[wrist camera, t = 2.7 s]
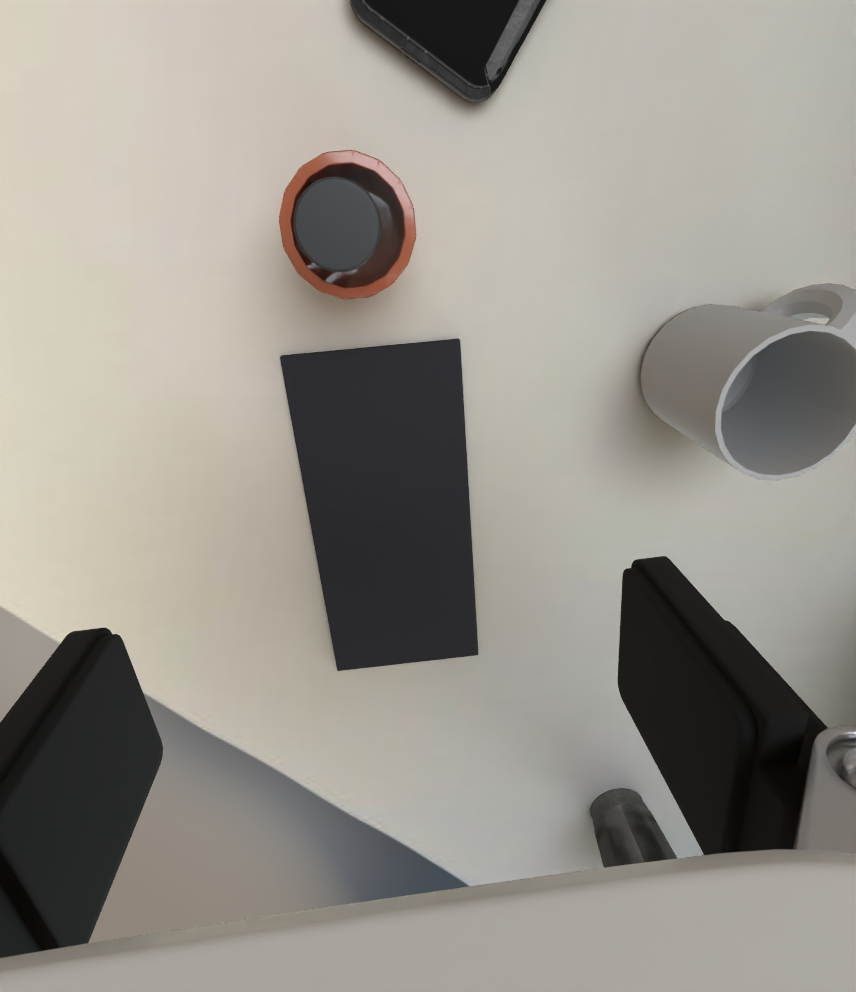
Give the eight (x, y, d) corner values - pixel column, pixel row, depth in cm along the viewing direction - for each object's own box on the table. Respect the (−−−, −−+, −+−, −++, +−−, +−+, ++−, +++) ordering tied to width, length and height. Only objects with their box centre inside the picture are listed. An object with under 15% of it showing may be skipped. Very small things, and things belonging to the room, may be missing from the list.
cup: (612, 371, 34) (683, 412, 26) (751, 234, 32) (877, 233, 24) (684, 448, 37) (770, 508, 29) (820, 326, 34) (956, 354, 26)
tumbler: (402, 167, 30) (408, 144, 22) (412, 279, 32) (420, 292, 24) (296, 176, 29) (267, 156, 22) (313, 288, 32) (292, 304, 24)
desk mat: (459, 338, 33) (459, 339, 33) (477, 651, 42) (478, 655, 42) (280, 355, 33) (279, 356, 32) (337, 667, 42) (337, 671, 41)
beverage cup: (559, 828, 50) (660, 1165, 32) (598, 768, 48) (732, 1097, 30) (633, 843, 52) (769, 1173, 34) (674, 786, 49) (846, 1109, 31)
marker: (378, 198, 29) (375, 172, 17) (384, 254, 31) (385, 268, 18) (326, 203, 29) (285, 180, 17) (334, 259, 30) (301, 276, 18)
